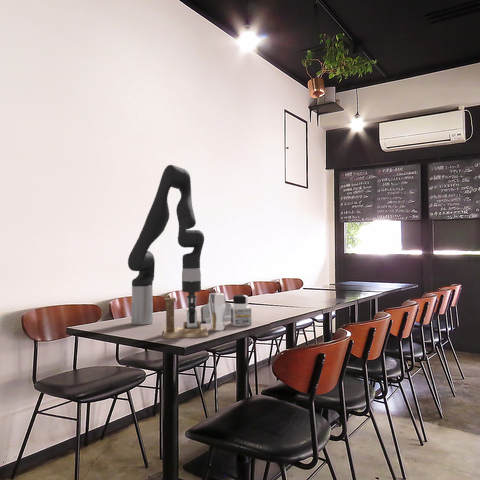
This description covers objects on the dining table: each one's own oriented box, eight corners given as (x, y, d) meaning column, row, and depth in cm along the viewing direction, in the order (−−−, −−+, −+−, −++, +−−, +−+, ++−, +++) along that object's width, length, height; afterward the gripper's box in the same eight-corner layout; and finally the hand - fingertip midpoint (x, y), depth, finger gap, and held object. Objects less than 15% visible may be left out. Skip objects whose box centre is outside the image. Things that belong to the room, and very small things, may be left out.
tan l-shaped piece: (163, 338, 156) (162, 301, 156) (164, 330, 172) (164, 296, 172) (208, 336, 158) (207, 299, 159) (205, 328, 174) (205, 295, 174)
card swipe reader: (205, 323, 187) (202, 302, 191) (201, 325, 191) (197, 304, 194) (236, 319, 197) (232, 299, 200) (232, 322, 200) (228, 301, 203)
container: (234, 326, 179) (234, 296, 180) (230, 323, 187) (230, 294, 187) (251, 325, 181) (251, 295, 182) (246, 322, 189) (246, 293, 189)
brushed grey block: (187, 331, 163) (186, 311, 163) (187, 329, 167) (186, 310, 167) (197, 331, 164) (196, 310, 164) (197, 329, 168) (196, 309, 168)
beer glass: (217, 327, 177) (216, 292, 177) (229, 329, 173) (228, 293, 173) (205, 330, 172) (205, 293, 172) (218, 331, 167) (217, 294, 168)
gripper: (182, 278, 172) (182, 319, 172) (181, 281, 158) (182, 325, 158) (200, 278, 174) (200, 318, 173) (201, 280, 159) (202, 324, 159)
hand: (191, 321), depth 165 cm, fingers open, 5 cm apart
